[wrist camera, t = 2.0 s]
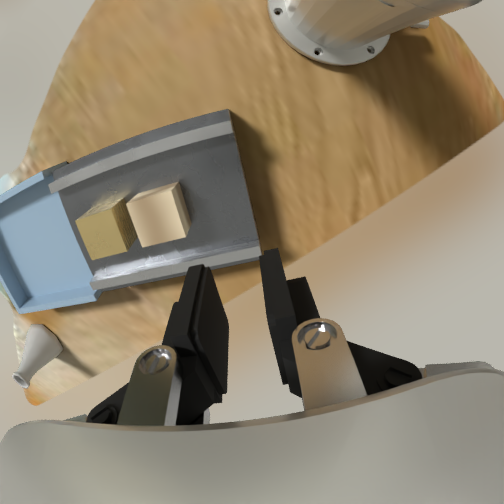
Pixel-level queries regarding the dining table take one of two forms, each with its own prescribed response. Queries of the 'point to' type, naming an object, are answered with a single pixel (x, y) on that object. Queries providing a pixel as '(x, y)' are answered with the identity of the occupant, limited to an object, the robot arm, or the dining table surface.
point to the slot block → (160, 174)
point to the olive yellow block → (107, 229)
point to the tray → (41, 249)
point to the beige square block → (160, 215)
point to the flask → (36, 353)
